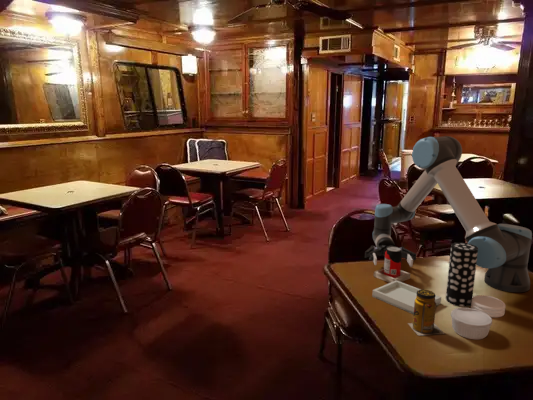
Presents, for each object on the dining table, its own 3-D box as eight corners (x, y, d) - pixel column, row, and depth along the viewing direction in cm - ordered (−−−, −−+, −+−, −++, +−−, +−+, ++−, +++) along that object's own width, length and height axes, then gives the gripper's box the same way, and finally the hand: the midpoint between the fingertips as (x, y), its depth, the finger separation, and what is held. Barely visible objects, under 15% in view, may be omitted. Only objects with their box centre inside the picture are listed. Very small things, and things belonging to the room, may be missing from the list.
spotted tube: (474, 307, 139) (481, 251, 135) (448, 305, 141) (454, 249, 137) (468, 296, 147) (474, 243, 143) (443, 294, 149) (448, 241, 144)
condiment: (407, 323, 129) (410, 288, 126) (433, 322, 130) (436, 286, 127) (417, 336, 122) (421, 298, 119) (445, 334, 123) (449, 297, 120)
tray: (440, 303, 142) (441, 297, 141) (417, 316, 134) (418, 309, 133) (395, 286, 156) (396, 280, 155) (372, 296, 147) (372, 290, 147)
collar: (410, 278, 163) (410, 273, 163) (394, 284, 157) (395, 279, 157) (388, 270, 171) (389, 266, 170) (373, 276, 165) (373, 271, 164)
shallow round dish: (504, 308, 139) (506, 298, 138) (503, 321, 131) (505, 311, 130) (472, 301, 144) (473, 292, 143) (469, 313, 136) (470, 303, 135)
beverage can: (401, 281, 161) (403, 251, 158) (384, 280, 161) (386, 251, 159) (398, 274, 167) (400, 246, 164) (382, 273, 168) (384, 245, 165)
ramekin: (481, 323, 129) (483, 308, 128) (497, 343, 118) (499, 326, 117) (444, 321, 130) (446, 306, 129) (456, 340, 120) (458, 324, 118)
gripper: (413, 254, 180) (426, 273, 160) (355, 251, 183) (360, 270, 163) (415, 237, 178) (427, 254, 158) (356, 235, 181) (361, 252, 161)
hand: (393, 262), depth 160 cm, fingers open, 13 cm apart
